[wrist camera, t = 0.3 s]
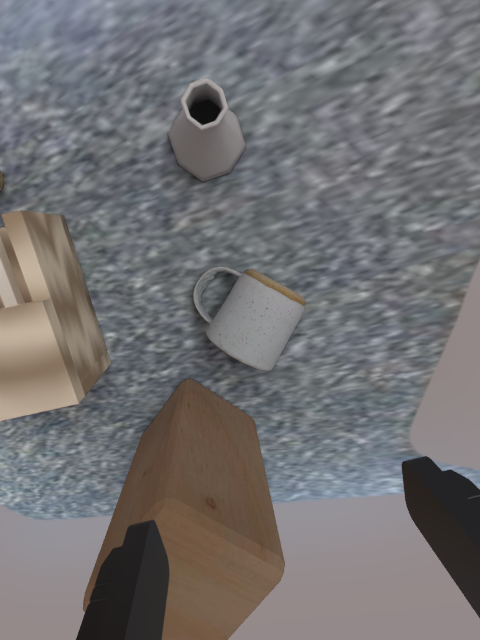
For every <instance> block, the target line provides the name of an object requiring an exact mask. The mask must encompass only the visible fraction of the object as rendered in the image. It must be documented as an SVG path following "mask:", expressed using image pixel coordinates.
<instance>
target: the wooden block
mask: <svg viewBox="0 0 480 640" xmlns="http://www.w3.org/2000/svg"><path fill="white" fill-rule="evenodd" d="M149 520H154V521H155V522H156V524H157V527H158V530H159V533H160V536H161V539H162V542H163V545H164V548H165V550H166V553H167V557H168V561H169V572H170V576H169V586H168V594H167V602H166V610H165V617H164V625H163V633H162V640H228V638H229V637H230V636H231V635H232V634H233V633H234V632H235V631H236V630H237V629H238V627H239V626H240V625H241V624H242V623H243V622H244V621H245V619H246V618H247V617H248V616H249V615H250V614H251V613H252V612H253V611H254V610H255V609H256V607H257V606H258V605H259V604H260V603H261V602H262V601H263V600H264V598H265V597H266V596H267V595H268V594H269V593H270V592H271V591H272V590H273V589H274V587H275V586H276V585H277V584H278V583H279V582H280V580H281V578H282V576H283V573H284V567H285V562H284V557H283V553H282V548H281V543H280V538H279V534H278V529H277V525H276V520H275V515H274V510H273V506H272V501H271V496H270V492H269V487H268V482H267V478H266V473H265V468H264V464H263V459H262V454H261V450H260V445H259V440H258V436H257V431H256V426H255V422H254V420H253V419H252V417H251V416H249V415H248V414H246V413H244V412H243V411H241V410H240V409H238V408H237V407H235V406H234V405H232V404H230V403H229V402H227V401H226V400H224V399H223V398H221V397H219V396H218V395H216V394H215V393H213V392H212V391H210V390H209V389H207V388H205V387H204V386H202V385H201V384H199V383H198V382H196V381H194V380H192V379H189V378H188V379H186V380H184V381H183V382H181V384H180V385H179V386H178V388H177V389H176V390H175V392H174V393H173V394H172V396H171V397H170V398H169V400H168V401H167V402H166V404H165V405H164V406H163V408H162V409H161V410H160V412H159V413H158V414H157V416H156V417H155V419H154V420H153V421H152V423H151V424H150V425H149V427H148V428H147V429H146V431H145V432H144V433H143V435H142V436H141V439H140V442H139V445H138V447H137V450H136V453H135V456H134V459H133V461H132V464H131V467H130V470H129V472H128V475H127V478H126V481H125V483H124V486H123V489H122V492H121V495H120V497H119V500H118V503H117V506H116V508H115V511H114V514H113V517H112V519H111V522H110V525H109V528H108V531H107V533H106V536H105V539H104V542H103V544H102V547H101V550H100V553H99V555H98V558H97V561H96V564H95V567H94V570H93V572H92V575H91V578H90V581H89V583H88V586H87V589H86V592H85V597H84V603H83V610H84V611H85V612H86V609H87V606H88V604H89V603H90V601H89V600H90V597H91V594H92V591H93V588H95V582H96V579H97V576H98V573H99V570H100V567H101V565H102V564H103V562H104V561H105V559H106V558H107V556H108V555H109V553H110V552H111V551H112V549H113V548H116V547H120V546H122V545H123V542H124V538H125V535H126V531H127V528H128V527H129V525H132V524H136V523H141V522H145V521H149Z"/></svg>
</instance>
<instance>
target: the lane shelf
mask: <svg viewBox="0 0 480 640" xmlns="http://www.w3.org/2000/svg"><path fill="white" fill-rule="evenodd" d="M1 215H2V218H3V221H4V223H5V226H6V227H1V228H0V237H1V240H2V242H3V245H4V248H5V250H6V253H7V256H8V259H9V261H10V264H11V267H12V269H13V272H14V275H15V277H16V280H17V283H18V286H19V288H20V291H21V294H22V296H23V299H24V302H25V303H24V304H20V305H15V306H10V307H6V308H5V306H4V304H3V301H2V299H1V296H0V421H2V420H7V419H12V418H16V417H21V416H25V415H30V414H34V413H39V412H43V411H48V410H52V409H57V408H61V407H66V406H70V405H75V404H79V403H80V401H81V400H82V399H83V398H84V396H85V395H86V394H87V393H88V391H89V390H90V389H91V388H92V387H93V385H94V384H95V383H96V382H97V380H98V379H99V378H100V377H101V375H102V374H103V373H104V372H105V370H106V369H107V368H108V367H109V365H110V364H111V361H110V358H109V355H108V352H107V349H106V346H105V343H104V340H103V336H102V333H101V330H100V327H99V324H98V321H97V318H96V314H95V311H94V308H93V305H92V302H91V299H90V296H89V293H88V289H87V286H86V283H85V280H84V277H83V274H82V271H81V268H80V264H79V261H78V258H77V255H76V252H75V249H74V246H73V243H72V239H71V236H70V233H69V230H68V227H67V224H66V221H65V218H64V216H62V215H53V214H45V213H37V212H29V211H21V210H20V211H15V212H11V213H6V214H1Z"/></svg>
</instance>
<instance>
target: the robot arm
mask: <svg viewBox="0 0 480 640" xmlns="http://www.w3.org/2000/svg"><path fill="white" fill-rule="evenodd" d="M402 473H403V483H404V492H405V501H406V505H407V508H408V511H409V513H410V516H411V518H412V520H413V521H414V523H415V525H416V526H417V527H418V529H419V530H420V532H421V533H422V535H423V536H424V538H425V539H426V541H427V542H428V543H429V545H430V546H431V548H432V549H433V551H434V552H435V554H436V555H437V557H438V558H439V559H440V561H441V562H442V564H443V565H444V567H445V568H446V570H447V571H448V572H449V574H450V576H451V577H452V578H453V580H454V581H455V583H456V584H457V585H458V587H459V589H460V590H461V591H462V593H463V594H464V596H465V597H466V599H467V600H468V602H469V603H470V605H471V606H472V608H473V609H474V610H475V612H476V613H477V615H478V616H479V618H480V490H479V489H478V488H477V487H476V486H475V485H474V484H473V483H472V482H471V481H470V480H469V479H467V478H465V477H464V476H462V475H460V474H458V473H456V472H454V471H453V470H447V471H442V470H441V469H440V468H439V467H438V466H437V465H436V464H435V463H434V462H433V461H432V460H431V459H430V458H429V457H427V456H425V457H421V458H416V459H412V460H408V461H404V462H403V463H402ZM169 576H170V572H169V561H168V557H167V553H166V550H165V548H164V545H163V542H162V539H161V536H160V533H159V530H158V527H157V524H156V522H155V521H154V520H149V521H145V522H141V523H136V524H132V525H129V527H128V528H127V531H126V535H125V538H124V542H123V545H122V546H120V547H116V548H113V549H112V551H111V552H110V553H109V555H108V556H107V558H106V559H105V561H104V562H103V564H102V565H101V567H100V570H99V573H98V576H97V579H96V582H95V588H93V591H92V594H91V597H90V600H89V601H90V603H89V604H88V606H87V609H86V612H85V615H84V618H83V621H82V624H81V627H80V630H79V632H78V636H77V638H76V640H162V633H163V625H164V617H165V610H166V602H167V594H168V586H169Z"/></svg>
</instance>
